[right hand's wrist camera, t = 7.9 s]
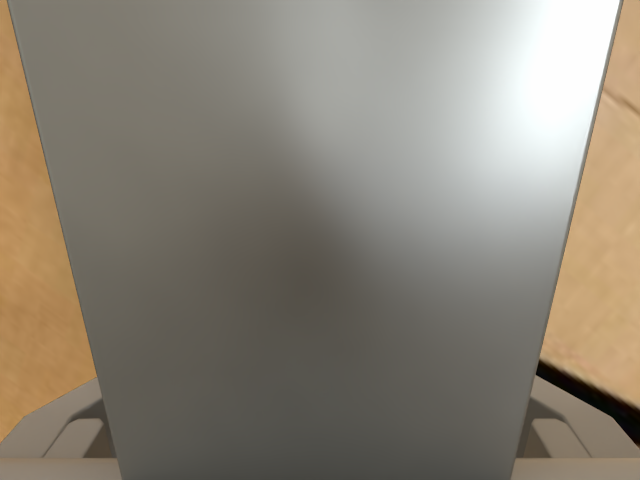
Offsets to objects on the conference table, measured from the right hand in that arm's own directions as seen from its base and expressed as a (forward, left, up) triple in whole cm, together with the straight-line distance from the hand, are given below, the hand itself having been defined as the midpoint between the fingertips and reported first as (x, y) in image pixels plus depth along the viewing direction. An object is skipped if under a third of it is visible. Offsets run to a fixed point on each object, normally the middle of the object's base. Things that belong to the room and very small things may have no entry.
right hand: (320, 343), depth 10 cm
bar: (+9, 0, -4) cm, 10 cm away
